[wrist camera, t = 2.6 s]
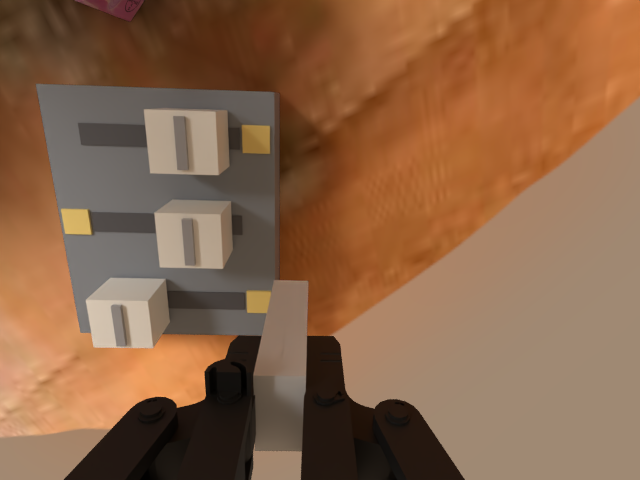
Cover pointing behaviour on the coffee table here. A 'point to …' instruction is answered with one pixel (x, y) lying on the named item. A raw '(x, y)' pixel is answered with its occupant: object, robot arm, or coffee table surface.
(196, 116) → the slider
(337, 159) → the coffee table surface
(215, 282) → the switch unit
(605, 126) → the coffee table surface
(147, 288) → the slider
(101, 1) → the box
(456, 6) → the coffee table surface
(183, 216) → the slider
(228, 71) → the coffee table surface
